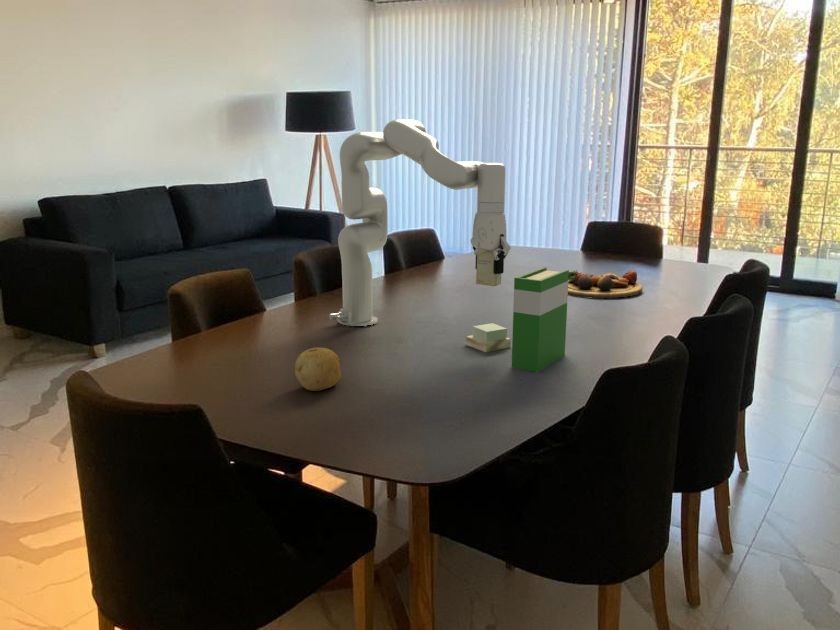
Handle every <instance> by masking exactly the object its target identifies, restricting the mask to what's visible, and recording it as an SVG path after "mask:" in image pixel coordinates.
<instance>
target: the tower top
mask: <svg viewBox="0 0 840 630" xmlns="http://www.w3.org/2000/svg"><path fill="white" fill-rule="evenodd" d="M472 335H473V337H476V338H478V339H480V340H483V341H485V342H490V341H496V340H502V339H507V338H508V328H506V327H503V326H501V325H499V324H496V323H493V322H492V323H484V324H479V325H472Z"/></svg>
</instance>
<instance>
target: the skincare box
mask: <svg viewBox="0 0 840 630" xmlns="http://www.w3.org/2000/svg"><path fill="white" fill-rule="evenodd" d="M497 248H500V246H499V245H498V247H497ZM499 253H500V252H499V251H498V255H499ZM494 260H496V259H495V256H494V253H493V251H489V250H484V249H481V248H480V242H478V250H477V270H476V273H475V275H476V278H475V284H476V285H481V286H487V287H488V286H489V287H497V286H499V285H501V284H502V274H494V273H493V266H494Z"/></svg>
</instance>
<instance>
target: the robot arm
mask: <svg viewBox="0 0 840 630" xmlns="http://www.w3.org/2000/svg"><path fill="white" fill-rule="evenodd" d="M439 149H440V143H439V140H438V139H437V138H435V137H434V136H432V135H430V134H428V133H427V131H426V128H425V126H424V125H423V123H422V122H420V121H419V120H416V119H407V118H406V119H405V118H404V119H403V118H401V119H400V118H398V119H393V120H390V121H389V122H388V123H386V125H385V126H384V127H383V130H382V131H361V132H355V133H353V134H351V135H348V137H346V138H345V139H344V141H343V142H342V144H341V146H340V149H339V165H340V171H341V208H342V213H343V215H344V216H345V217H346V218H347V219H350V220H362V222H358V223H357V222H356V223H352V224H348V225H347V226H344V227H343V228H342V229H341V230H340V232H339V234H338V237H337V244H338V250H339V253H340V260H341V279H342V308H339V311H338V312H336V313H335V312H333V313H329V315H328V318H329V320H331V321H332V320H333V321H334V320H337V322H339V323H341V324H344V325H350V326H364V327H368V326H367V325H371V326H374V325H376V324H378V322H379V321H378V320H379V319H378V317H377V316H375V315H374V313H373V312H374V311H373V310H374V306H373V302H374V301H373V300H374V299H373V265H372V263H371V260H370V257H369V254H368V253H371V252H375V251H379V250H381V249H382V248H383V247H385V245H386V243H387V239H388V202H387V201H388V200H387V198H386V196H385V194H384V193H383V191H382V189H380V188H377V187H375V186H370V173H369V170H368V169H369V168H368V167H367V165H366V164H365V163H366V162H368V161H370V162H371V161H384V160H390V159H393V158H396V157H398V156H402V155H403V156H404V157H407V158H409V159H411V160H412V161H413V162H415V163H417V164H418V165H419V166H421V169H422V170H423V171H424V172H425V173H426V175H427V177H429V178H431V179H432V180H434V181H435V182H436V183H439V184H440V185H442V186H444V187H446V188H447V189H451V190H454V191H455V190H456V191H459V190H464V189H465V190H466V189H467V190H468V189H474V188H475V189H476V188H477V189H476V190H477V193H476V195H477V197H476V198H477V199H476V212H475V214H474V218H473V226H472V236H471V239H470V240H469V241H470V244H471V246H472V249H473V253H474V256H475V265H474V266H475V270H476V271H477V250H478V242H480V248H481V249H484V250H489V251H493V253H494V256H495V259H496V260H494V266H493V273H494V274H501V275H503V274H504V267H505V266H504V264H505V260H506V257H507V256H508V253H509V252H510V250H511V246H510V244H509V242H508V241H507V220H506V214H505V204H506V203H505V201H506V200H505V198H506V197H505V195H506V166H505V165H504V163H502V162H483V161H476V160H462V161H457V160H456V161H455V160H454V159H451V158H450V157H448V156H446V155H445V154H444V153H441V152H440V151H439ZM498 245H499V246H500V248H497V247H498ZM498 251H499V252H500V253H499V255H498ZM339 323H338V324H339ZM341 324H340V325H341ZM373 324H374V325H373ZM344 325H343V326H344Z"/></svg>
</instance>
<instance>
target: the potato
mask: <svg viewBox="0 0 840 630" xmlns="http://www.w3.org/2000/svg"><path fill="white" fill-rule="evenodd" d="M340 364H341V360H340V357H339V356H338V354H337V353H336V352H334V351H333V350H331V349H329V348H326V347H312V348H308V349H307V350H304V351H302V352H301V353H300V354H299V355H298V356H297V358H296V360H295V364H294V373H295V378H296V379H297V381H298V382H299V384H300V385H301V386H302V387H303V388H304V389H306V390H308V391H313V392H317V391H318V392H319V391H322V390H326V389H330V388H332V387H333V386H335V385H336V384H337V383H338V382H340V380H341V378H342V373H341V365H340Z"/></svg>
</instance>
